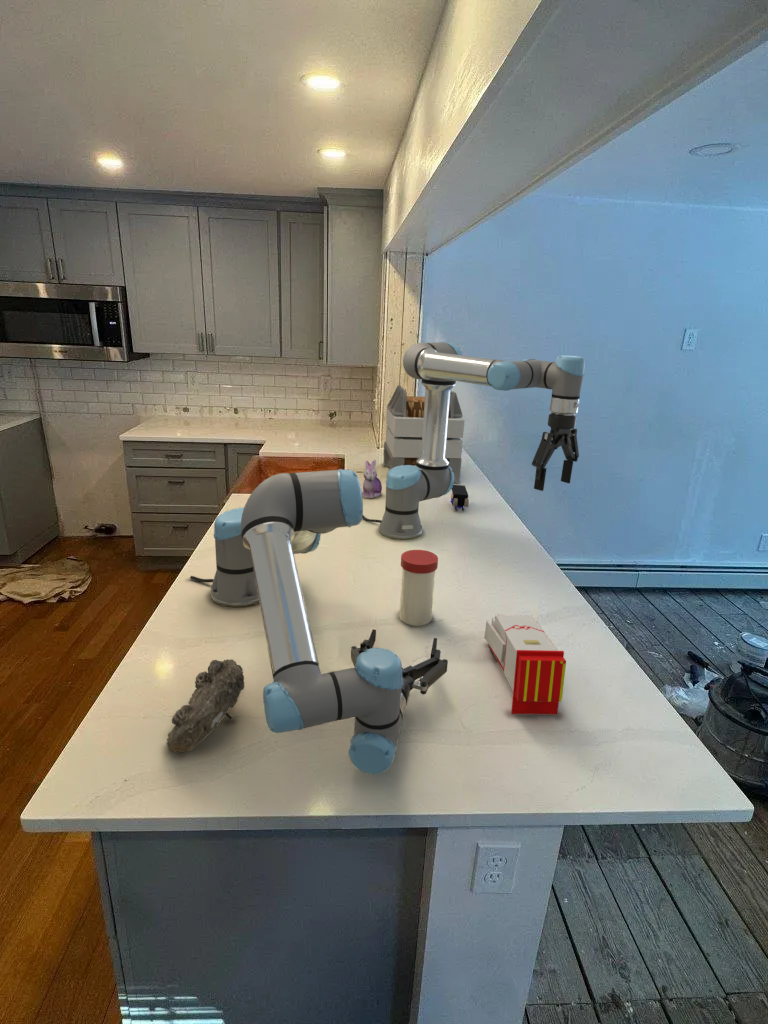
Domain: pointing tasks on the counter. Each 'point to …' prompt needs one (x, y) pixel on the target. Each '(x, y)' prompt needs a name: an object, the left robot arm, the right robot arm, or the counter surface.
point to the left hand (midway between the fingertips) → (404, 638)
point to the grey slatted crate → (419, 431)
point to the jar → (416, 597)
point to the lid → (419, 561)
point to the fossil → (206, 705)
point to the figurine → (371, 481)
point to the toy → (527, 663)
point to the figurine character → (459, 497)
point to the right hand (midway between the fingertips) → (552, 485)
